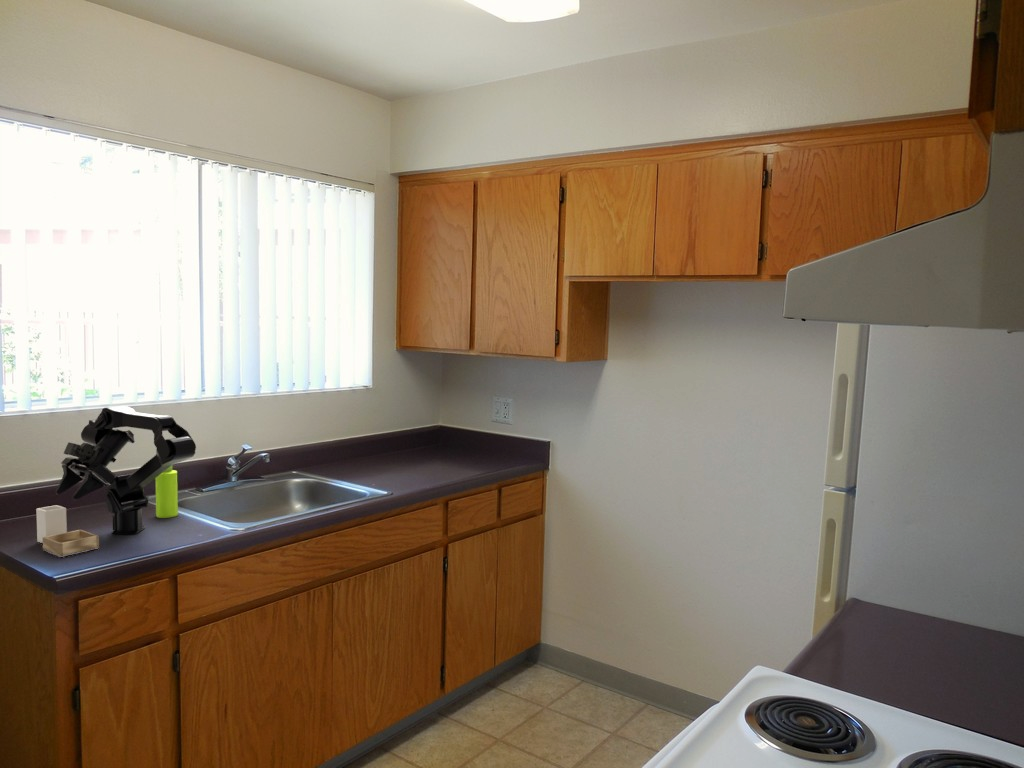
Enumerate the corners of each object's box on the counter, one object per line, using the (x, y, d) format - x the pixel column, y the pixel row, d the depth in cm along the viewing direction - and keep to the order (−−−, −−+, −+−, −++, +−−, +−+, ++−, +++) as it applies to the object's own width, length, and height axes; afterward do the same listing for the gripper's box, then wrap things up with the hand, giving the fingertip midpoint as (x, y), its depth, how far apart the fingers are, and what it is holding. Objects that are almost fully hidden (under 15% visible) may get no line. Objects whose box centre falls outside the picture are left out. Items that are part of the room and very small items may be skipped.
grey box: (58, 538, 199) (57, 505, 199) (67, 541, 197) (66, 507, 196) (37, 542, 195) (36, 508, 195) (46, 546, 193) (45, 511, 192)
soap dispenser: (182, 512, 229) (181, 446, 227) (173, 517, 222) (171, 450, 221) (162, 511, 229) (161, 446, 227) (152, 517, 222) (151, 450, 220)
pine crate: (81, 542, 196) (80, 529, 196) (99, 549, 191) (98, 535, 191) (42, 551, 189) (42, 537, 188) (60, 558, 183) (59, 544, 183)
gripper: (67, 427, 206) (24, 473, 198) (102, 434, 196) (58, 483, 187) (98, 452, 213) (57, 497, 205) (133, 460, 203) (91, 508, 195)
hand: (65, 496), depth 198 cm, fingers open, 9 cm apart
